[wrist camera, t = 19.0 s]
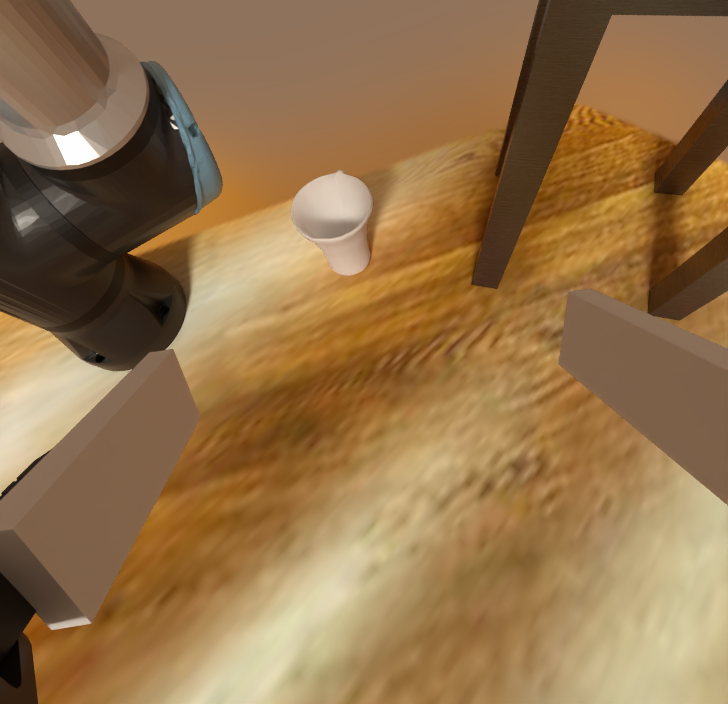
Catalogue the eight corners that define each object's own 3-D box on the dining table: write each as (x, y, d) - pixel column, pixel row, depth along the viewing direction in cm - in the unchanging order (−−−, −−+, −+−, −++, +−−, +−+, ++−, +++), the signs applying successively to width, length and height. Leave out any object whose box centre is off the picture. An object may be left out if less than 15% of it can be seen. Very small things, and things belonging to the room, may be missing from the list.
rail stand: (679, 320, 39) (1467, -165, 10) (471, 284, 44) (582, -113, 14) (682, 176, 45) (1180, -396, 16) (498, 158, 49) (616, -306, 20)
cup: (388, 231, 48) (382, 171, 38) (371, 293, 45) (360, 244, 36) (325, 224, 50) (304, 164, 40) (305, 282, 47) (278, 233, 38)
